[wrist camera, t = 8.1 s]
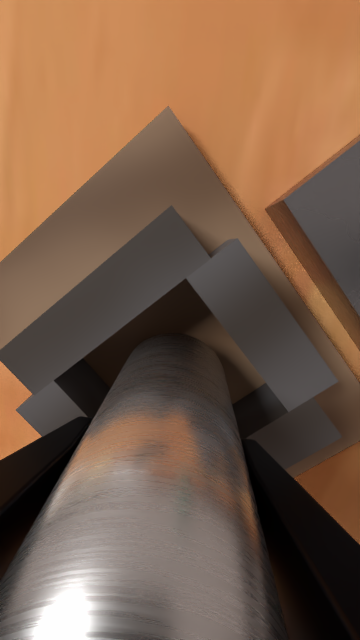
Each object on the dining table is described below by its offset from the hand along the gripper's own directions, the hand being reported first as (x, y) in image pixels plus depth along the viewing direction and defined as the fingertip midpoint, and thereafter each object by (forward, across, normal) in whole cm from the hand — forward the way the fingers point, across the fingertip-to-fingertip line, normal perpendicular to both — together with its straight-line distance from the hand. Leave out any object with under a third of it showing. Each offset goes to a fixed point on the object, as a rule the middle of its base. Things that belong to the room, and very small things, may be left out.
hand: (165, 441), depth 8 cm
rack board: (+6, 0, 0) cm, 6 cm away
